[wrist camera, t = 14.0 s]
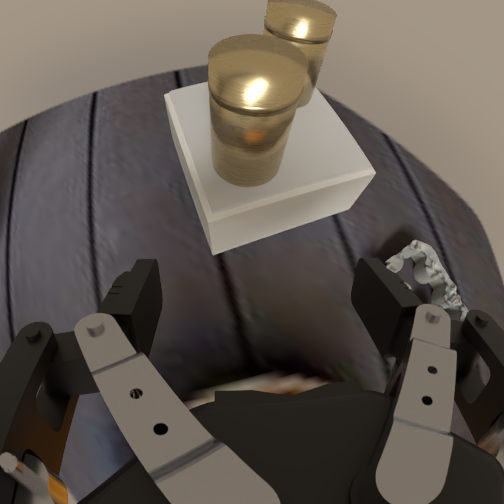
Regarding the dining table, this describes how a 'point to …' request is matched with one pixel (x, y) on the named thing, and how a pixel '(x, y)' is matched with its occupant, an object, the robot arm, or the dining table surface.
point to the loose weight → (252, 105)
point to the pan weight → (302, 33)
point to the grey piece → (431, 277)
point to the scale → (281, 186)
